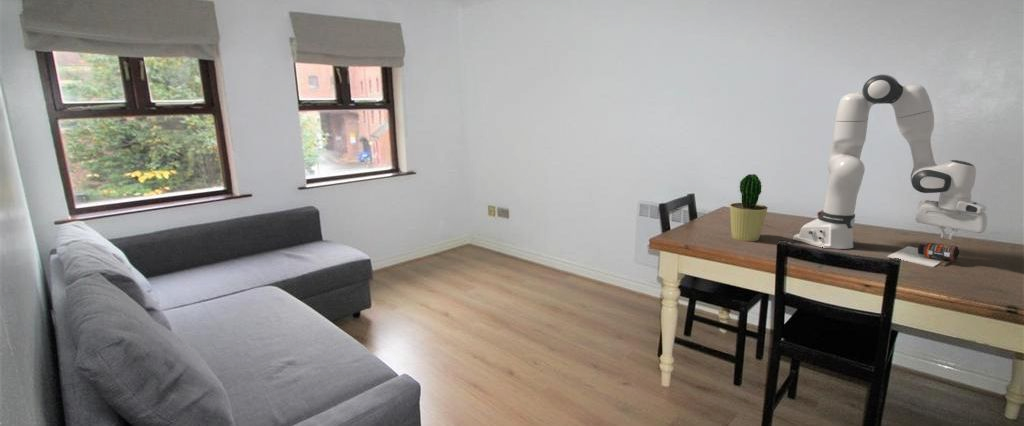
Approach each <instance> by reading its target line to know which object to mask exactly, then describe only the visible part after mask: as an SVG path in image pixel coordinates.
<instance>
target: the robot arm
mask: <svg viewBox="0 0 1024 426" xmlns="http://www.w3.org/2000/svg"><path fill="white" fill-rule="evenodd" d="M876 104H877V105H878V104H879V105H880V104H881V105H882V104H888V105H889V104H890V105H891V106H892V108H893V110H894V115H895V120H896V125H897V127H898V129H899V132H900V134H901V135H902V136H903V138H904V139H905V140H906V141H907V144H908V145H909V148H910V153H911V157H912V162H913V163H912V164H913V168H912V170H911V174H910V182H911V187H912V188H913V189H914V190H915V191H917V192H919V193H922V194H934V193H935V194H936V193H939V197H938V201H937V200H936V201H935V200H929V199H924V200H920V201H919V202H918V205H917V209H918V211H917V213H916V216H915V221H916V223H918V224H923V225H929V226H930V225H931V226H936V227H938V230H939V232H940V238H941V239H944V240H949V241H951V240H952V239H953V235H955V234H956V233H957V232H958V231H965V232H971V233H975V234H982V233H984V232H985V231H986V230H987V226H988V215H987V214H986V213H985V212H986V210H987V206H986V205H984V204H982V203H979V202H976V201H973V200H972V190H973V188H974V186H975V182H976V177H977V168H976V167H975V165H974V164H972V163H970V162H967V161H964V160H957V159H952V160H951V159H950V160H949V161H947V162H945V163H941V164H939V165H938V164H937V163H936V162H935V159H934V155H933V149H932V148H933V147H932V143H931V141H932V140H931V139H932V134H933V132H934V127H935V116H934V115H935V114H934V109H933V105H932V102H931V99H930V96H929V94H928V92H927V89H926V88H925V87H924V86H922V85H919V84H910V85H901V84H900V83H899V82H898V79H897V78H896V77H895V76H893V75H890V74H885V73H883V74H881V73H880V74H877V75H874V76H872V77H870V78H869V79H868V80H866V82H865V83H864V84H863V87H862V89H861V91H858V92H850V93H848V94H844V95H842V97H841V98H840V100H839V103H838V106H837V109H836V113H835V119H834V120H835V122H834V129H833V136H832V144H831V147H830V152H829V156H828V161H827V170H828V173H829V174H830V177H829V178H830V179H829V181H828V182H829V183H828V185H827V190H826V192H825V197H824V203H823V209H821V211H818V212H817V213H816V216H817V217H816V218H815V219H814V220H811V221H809V222H807V223H805V224H804V225H803V226H802V227H801V228H800V230H799V233H797V234H794V235H793V238H792V239H793V240H794V241H798V242H801V243H804V244H805V243H806V244H808V245H812V246H815V247H819V248H822V247H823V249H839V250H843V249H844V250H847V249H853V248H854V241H853V228H854V225H855V222H856V221H855V220H856V213H855V210H856V205H857V200H858V199H857V198H858V194H859V191H860V189H861V185H862V182H863V178H864V175H865V171H866V170H865V163H864V162H863V161H862V160H861V155H862V151H863V147H864V145H865V142H866V137H867V131H868V123H869V122H868V121H869V115H870V110H871V109H872V106H874V105H876ZM946 228H947V229H951V230H950V232H951V233H950V234H949V233H946V232H945V229H946Z"/></svg>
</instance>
